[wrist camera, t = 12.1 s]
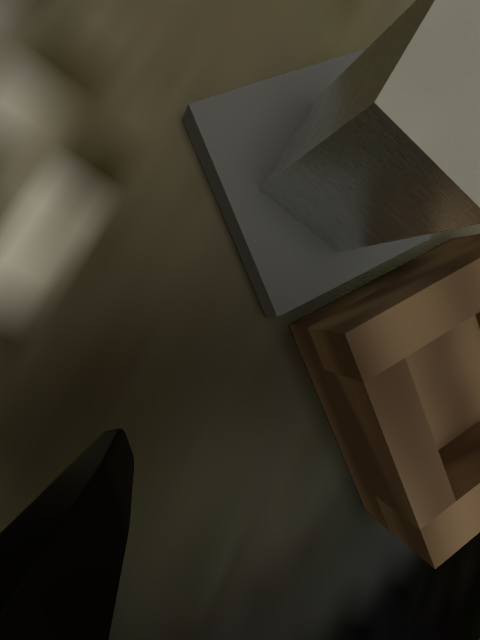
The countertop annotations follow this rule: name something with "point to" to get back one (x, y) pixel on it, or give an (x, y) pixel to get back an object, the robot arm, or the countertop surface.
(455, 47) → the steel peg
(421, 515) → the brown square tray
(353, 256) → the rubber pad
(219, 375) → the countertop surface
